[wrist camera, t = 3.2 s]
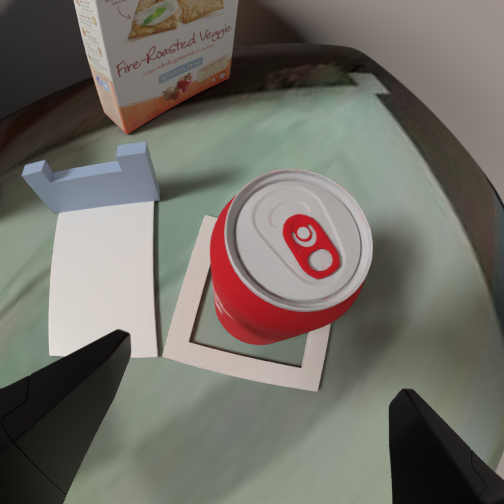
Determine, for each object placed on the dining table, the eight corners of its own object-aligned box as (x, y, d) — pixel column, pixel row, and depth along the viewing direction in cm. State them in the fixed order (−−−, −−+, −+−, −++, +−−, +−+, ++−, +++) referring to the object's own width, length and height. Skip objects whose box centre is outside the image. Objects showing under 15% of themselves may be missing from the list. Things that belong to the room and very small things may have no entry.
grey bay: (316, 391, 19) (317, 391, 18) (163, 356, 18) (162, 356, 18) (339, 251, 23) (340, 250, 22) (205, 216, 22) (204, 214, 22)
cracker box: (129, 139, 25) (85, -68, 5) (103, 114, 26) (61, -57, 6) (234, 80, 29) (254, -86, 10) (201, 61, 30) (207, -86, 11)
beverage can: (273, 247, 22) (323, 139, 11) (316, 318, 21) (414, 267, 9) (199, 284, 21) (177, 194, 9) (241, 361, 19) (271, 366, 8)
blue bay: (165, 356, 18) (142, 355, 13) (46, 355, 17) (-4, 348, 11) (160, 192, 23) (146, 141, 17) (57, 205, 21) (25, 165, 16)
